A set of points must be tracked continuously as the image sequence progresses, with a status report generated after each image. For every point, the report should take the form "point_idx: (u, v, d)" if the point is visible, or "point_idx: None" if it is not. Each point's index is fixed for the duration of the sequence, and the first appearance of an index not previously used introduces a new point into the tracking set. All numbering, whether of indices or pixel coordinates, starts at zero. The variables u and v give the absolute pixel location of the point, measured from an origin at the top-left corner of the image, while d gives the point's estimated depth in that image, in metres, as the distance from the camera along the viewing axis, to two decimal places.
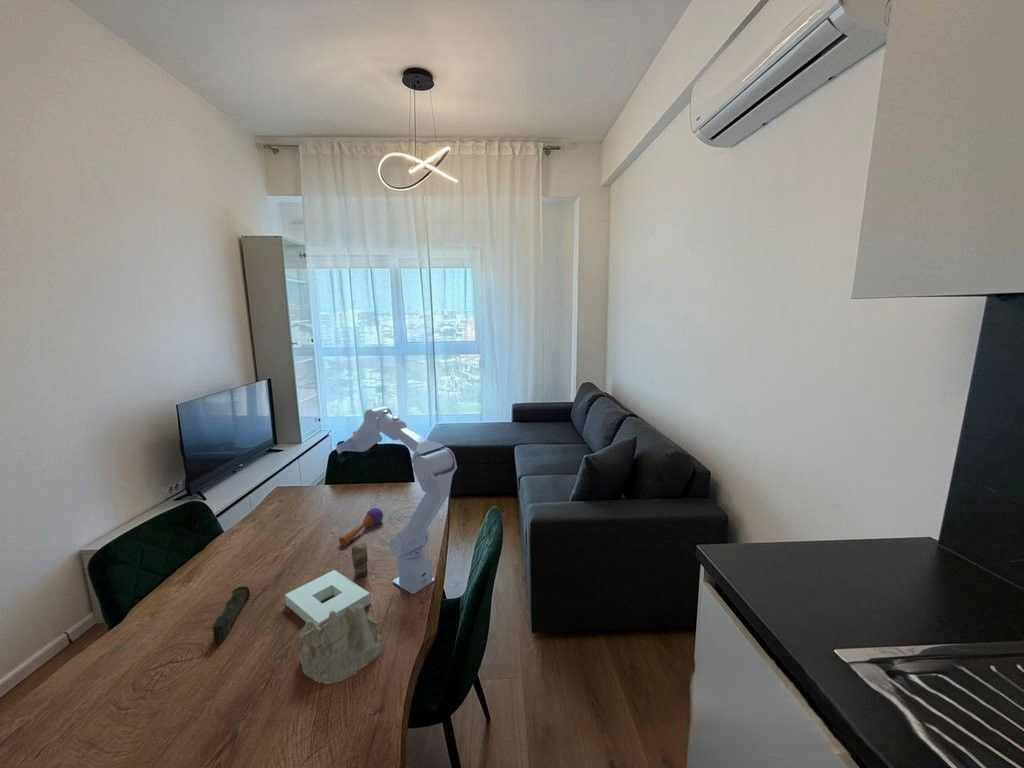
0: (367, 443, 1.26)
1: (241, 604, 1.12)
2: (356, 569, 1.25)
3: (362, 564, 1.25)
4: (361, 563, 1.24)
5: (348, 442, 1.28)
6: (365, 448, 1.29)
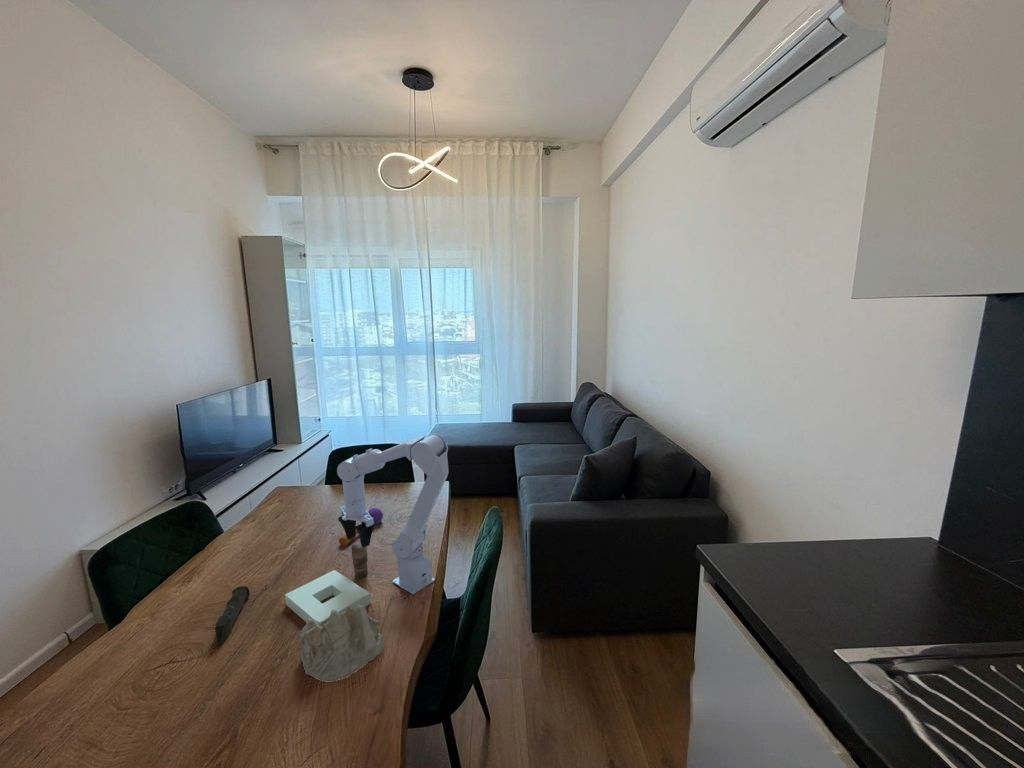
0: None
1: (241, 604, 1.12)
2: (356, 569, 1.25)
3: (362, 564, 1.25)
4: (361, 563, 1.24)
5: (359, 518, 1.21)
6: None
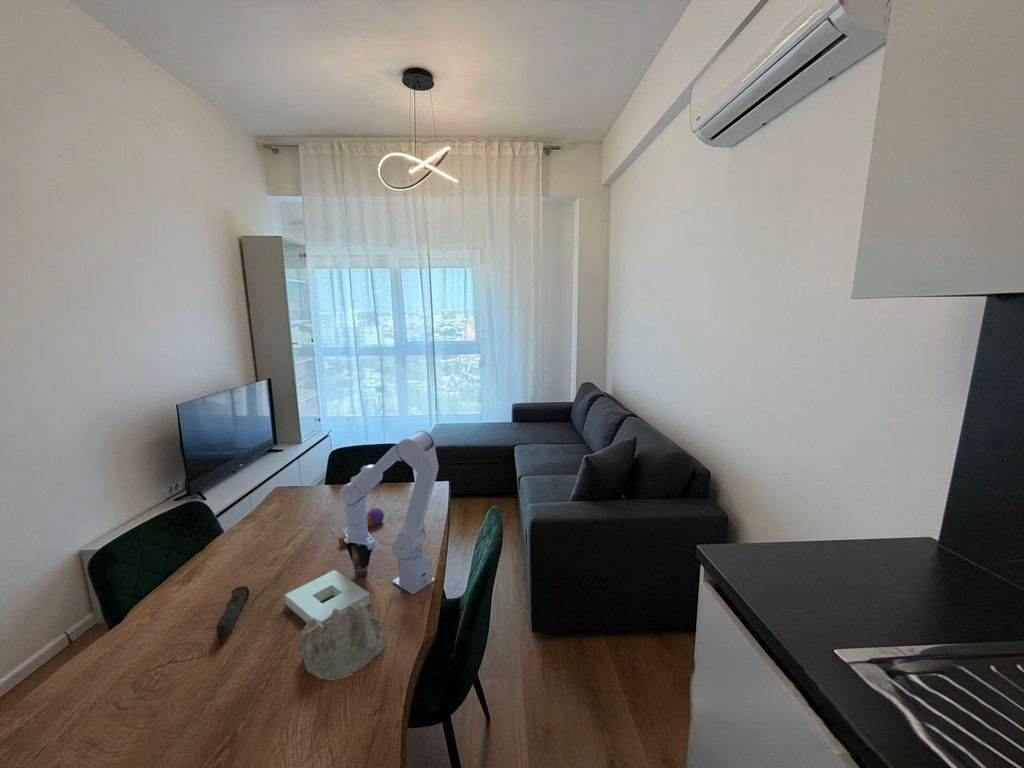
0: None
1: (242, 604, 1.12)
2: (356, 569, 1.25)
3: None
4: None
5: None
6: None
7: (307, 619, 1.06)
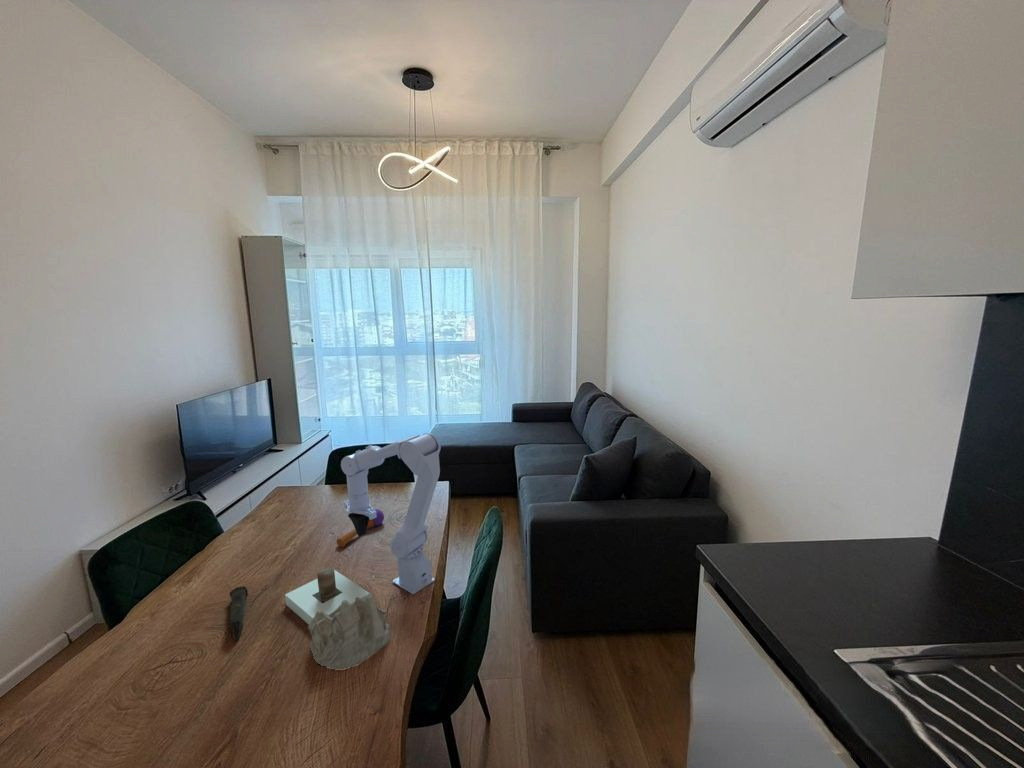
0: None
1: (244, 602, 1.13)
2: (323, 599, 1.12)
3: (330, 593, 1.12)
4: (329, 592, 1.12)
5: (363, 512, 1.25)
6: None
7: (307, 619, 1.06)
